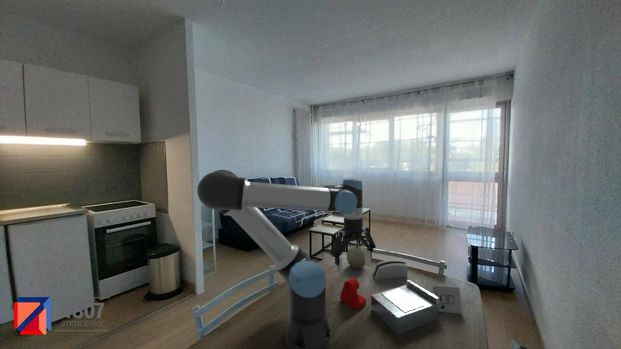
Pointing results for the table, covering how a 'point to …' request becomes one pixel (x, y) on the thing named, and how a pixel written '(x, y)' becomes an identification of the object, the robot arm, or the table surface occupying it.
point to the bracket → (352, 294)
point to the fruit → (356, 256)
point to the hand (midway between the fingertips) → (354, 268)
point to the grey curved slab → (390, 269)
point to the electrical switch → (448, 298)
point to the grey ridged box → (405, 307)
